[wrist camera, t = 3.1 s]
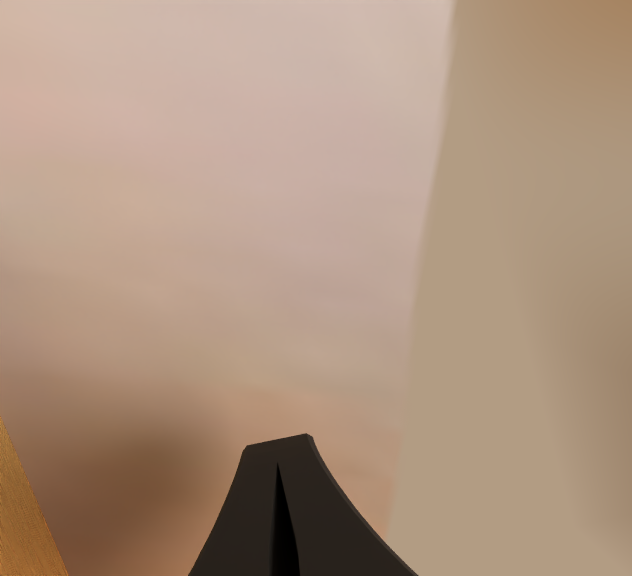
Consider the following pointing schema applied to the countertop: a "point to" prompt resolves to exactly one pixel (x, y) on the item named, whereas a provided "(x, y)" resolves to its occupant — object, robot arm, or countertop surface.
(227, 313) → the countertop surface
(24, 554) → the gold rectangular frame
